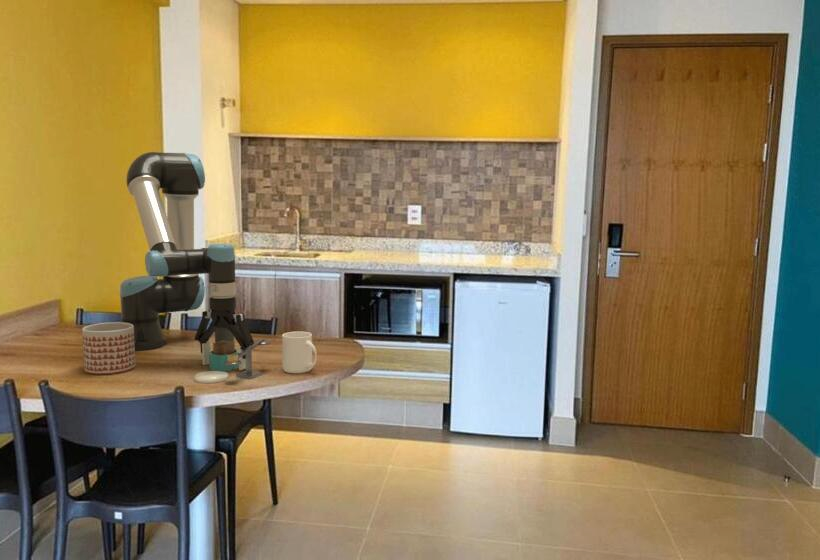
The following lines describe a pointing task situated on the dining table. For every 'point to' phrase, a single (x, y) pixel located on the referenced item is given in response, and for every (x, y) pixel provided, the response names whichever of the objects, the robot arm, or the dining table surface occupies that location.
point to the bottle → (223, 335)
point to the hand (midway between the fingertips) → (224, 366)
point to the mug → (297, 352)
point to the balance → (234, 360)
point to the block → (223, 348)
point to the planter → (108, 348)
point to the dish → (211, 377)
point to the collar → (220, 362)
